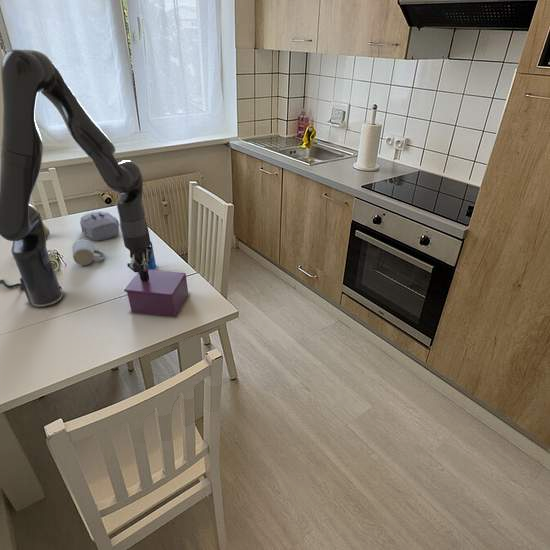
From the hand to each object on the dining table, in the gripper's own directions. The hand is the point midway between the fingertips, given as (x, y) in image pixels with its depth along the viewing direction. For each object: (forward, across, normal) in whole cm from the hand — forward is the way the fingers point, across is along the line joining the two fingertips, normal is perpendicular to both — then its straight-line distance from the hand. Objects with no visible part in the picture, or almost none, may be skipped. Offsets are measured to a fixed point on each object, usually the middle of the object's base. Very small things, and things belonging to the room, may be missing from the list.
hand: (145, 279), depth 125 cm
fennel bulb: (+5, -56, -36) cm, 67 cm away
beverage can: (+9, -19, -9) cm, 23 cm away
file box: (+9, 0, +4) cm, 10 cm away
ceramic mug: (+9, -22, -34) cm, 41 cm away
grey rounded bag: (+9, -46, -43) cm, 64 cm away
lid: (+1, 0, +4) cm, 4 cm away
